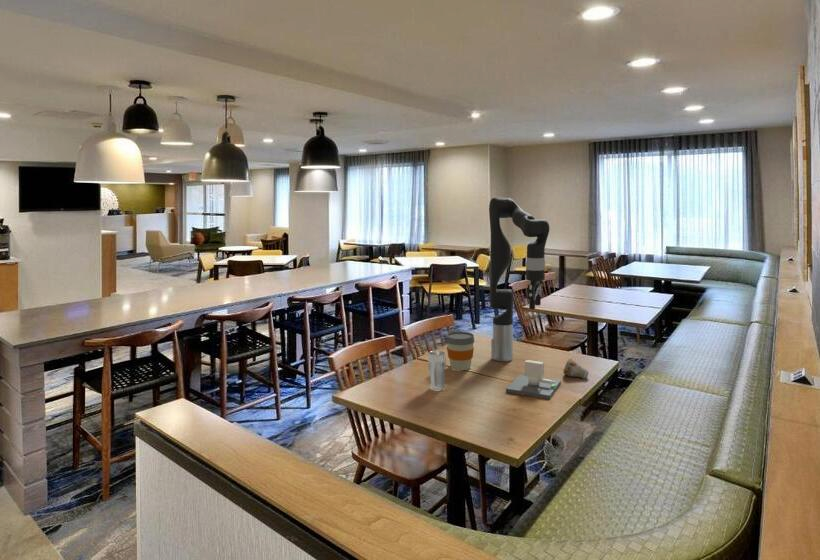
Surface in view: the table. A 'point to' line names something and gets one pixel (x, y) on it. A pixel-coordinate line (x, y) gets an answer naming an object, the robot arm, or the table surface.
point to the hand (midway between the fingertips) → (535, 307)
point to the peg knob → (535, 372)
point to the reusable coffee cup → (460, 349)
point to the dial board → (533, 387)
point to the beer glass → (437, 369)
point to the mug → (575, 369)
